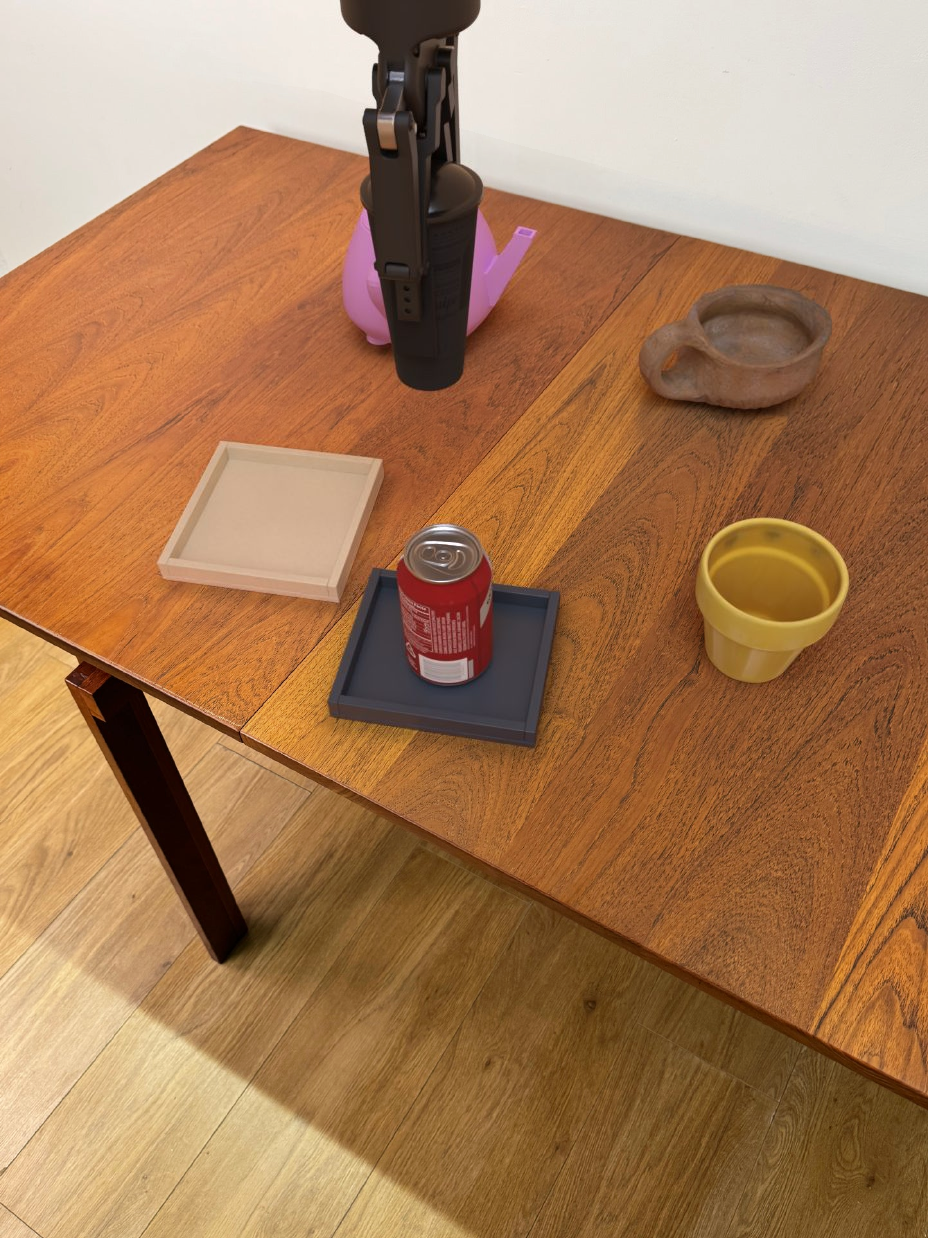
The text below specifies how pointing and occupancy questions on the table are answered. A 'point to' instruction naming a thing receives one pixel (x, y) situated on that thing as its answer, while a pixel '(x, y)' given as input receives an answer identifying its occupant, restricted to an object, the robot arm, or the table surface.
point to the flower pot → (767, 595)
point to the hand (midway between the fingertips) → (427, 323)
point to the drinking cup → (441, 272)
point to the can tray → (478, 709)
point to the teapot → (485, 287)
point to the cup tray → (274, 521)
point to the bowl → (739, 348)
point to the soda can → (446, 604)
